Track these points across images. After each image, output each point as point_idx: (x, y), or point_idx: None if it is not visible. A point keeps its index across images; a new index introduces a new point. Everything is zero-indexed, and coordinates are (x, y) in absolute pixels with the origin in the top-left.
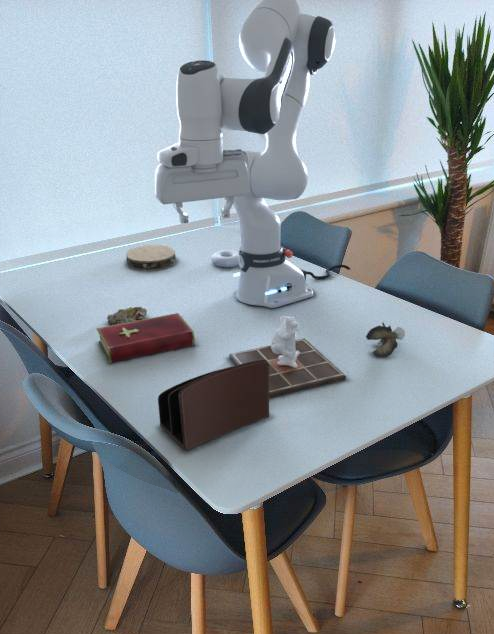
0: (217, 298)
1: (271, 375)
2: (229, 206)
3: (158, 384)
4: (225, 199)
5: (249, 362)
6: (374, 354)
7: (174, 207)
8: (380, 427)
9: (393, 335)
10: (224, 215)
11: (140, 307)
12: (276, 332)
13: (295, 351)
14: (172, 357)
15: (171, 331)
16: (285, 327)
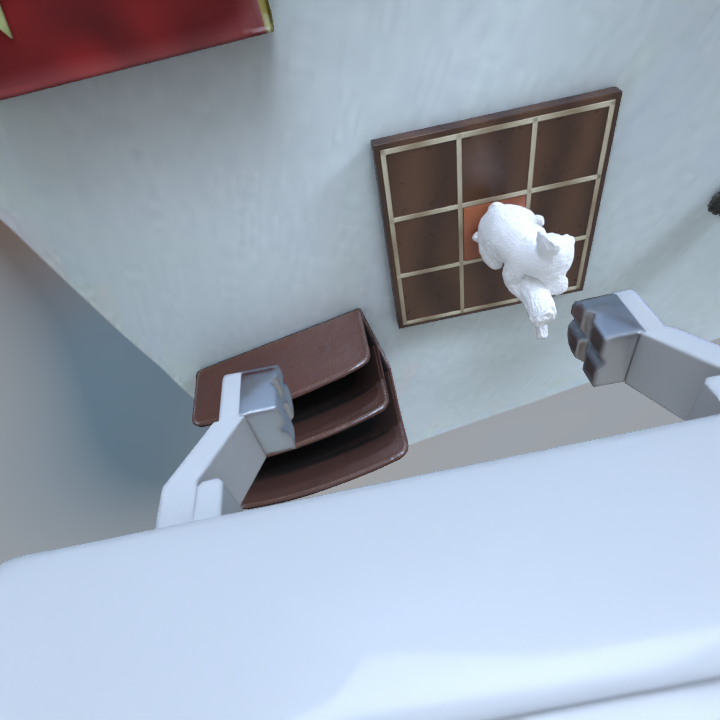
0: None
1: (440, 269)
2: (662, 400)
3: (172, 236)
4: (699, 397)
5: (369, 472)
6: (714, 201)
7: (173, 476)
8: (534, 396)
9: None
10: (583, 358)
11: None
12: (506, 254)
13: (550, 169)
14: (195, 92)
15: (181, 9)
16: (524, 296)
